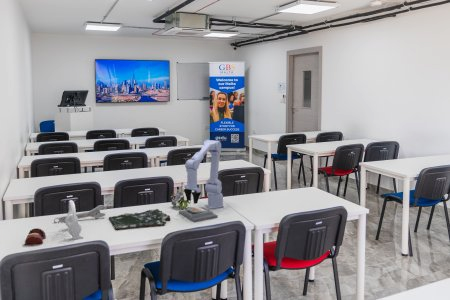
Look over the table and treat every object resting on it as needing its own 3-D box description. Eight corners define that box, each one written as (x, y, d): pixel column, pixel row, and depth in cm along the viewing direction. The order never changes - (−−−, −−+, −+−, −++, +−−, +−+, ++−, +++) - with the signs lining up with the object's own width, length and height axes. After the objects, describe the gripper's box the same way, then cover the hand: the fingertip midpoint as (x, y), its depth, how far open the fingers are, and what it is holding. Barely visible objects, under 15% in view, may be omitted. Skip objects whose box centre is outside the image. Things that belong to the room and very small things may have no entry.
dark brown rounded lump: (23, 234, 201) (28, 226, 212) (23, 246, 202) (28, 238, 213) (41, 233, 203) (46, 226, 214) (42, 246, 204) (46, 237, 215)
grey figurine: (65, 229, 227) (63, 197, 224) (78, 227, 230) (77, 196, 227) (68, 241, 209) (66, 207, 206) (83, 238, 212) (81, 205, 209)
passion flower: (173, 216, 268) (167, 198, 273) (191, 211, 273) (184, 193, 277) (176, 210, 257) (169, 191, 262) (194, 205, 262) (187, 186, 266)
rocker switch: (201, 210, 257) (202, 207, 256) (207, 212, 251) (208, 210, 251) (187, 209, 251) (188, 206, 251) (193, 212, 245) (193, 209, 245)
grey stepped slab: (201, 209, 264) (200, 204, 263) (217, 217, 247) (217, 212, 247) (178, 213, 255) (178, 208, 255) (194, 222, 239) (194, 216, 238)
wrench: (55, 227, 239) (107, 216, 247) (55, 228, 237) (108, 217, 246) (52, 214, 237) (105, 203, 246) (52, 215, 235) (105, 204, 244)
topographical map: (108, 219, 245) (108, 214, 244) (162, 212, 259) (162, 208, 258) (117, 233, 222) (116, 228, 221) (175, 225, 235) (175, 220, 235)
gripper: (180, 178, 248) (180, 200, 250) (193, 182, 237) (193, 205, 239) (189, 177, 252) (190, 198, 254) (203, 181, 241) (203, 203, 243)
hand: (192, 201), depth 247 cm, fingers open, 7 cm apart
